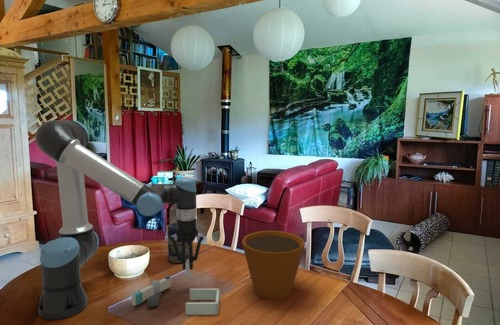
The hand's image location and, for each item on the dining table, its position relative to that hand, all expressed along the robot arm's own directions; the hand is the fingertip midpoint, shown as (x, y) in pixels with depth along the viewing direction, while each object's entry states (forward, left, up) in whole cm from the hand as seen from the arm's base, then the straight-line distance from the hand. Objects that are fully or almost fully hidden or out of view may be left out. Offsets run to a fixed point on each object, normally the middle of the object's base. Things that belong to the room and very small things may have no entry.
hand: (188, 277), depth 138 cm
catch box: (+7, -14, -4) cm, 16 cm away
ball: (-10, -14, -4) cm, 18 cm away
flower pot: (+33, -2, -5) cm, 33 cm away
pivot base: (-11, -6, -4) cm, 14 cm away
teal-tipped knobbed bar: (-12, -7, -3) cm, 15 cm away
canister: (-8, +27, -5) cm, 29 cm away
